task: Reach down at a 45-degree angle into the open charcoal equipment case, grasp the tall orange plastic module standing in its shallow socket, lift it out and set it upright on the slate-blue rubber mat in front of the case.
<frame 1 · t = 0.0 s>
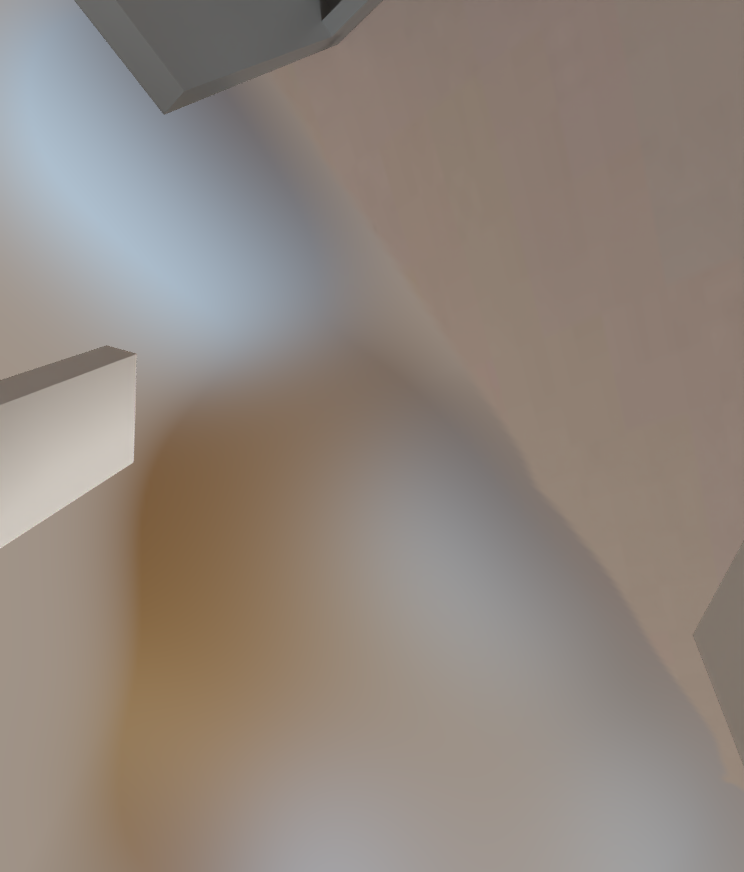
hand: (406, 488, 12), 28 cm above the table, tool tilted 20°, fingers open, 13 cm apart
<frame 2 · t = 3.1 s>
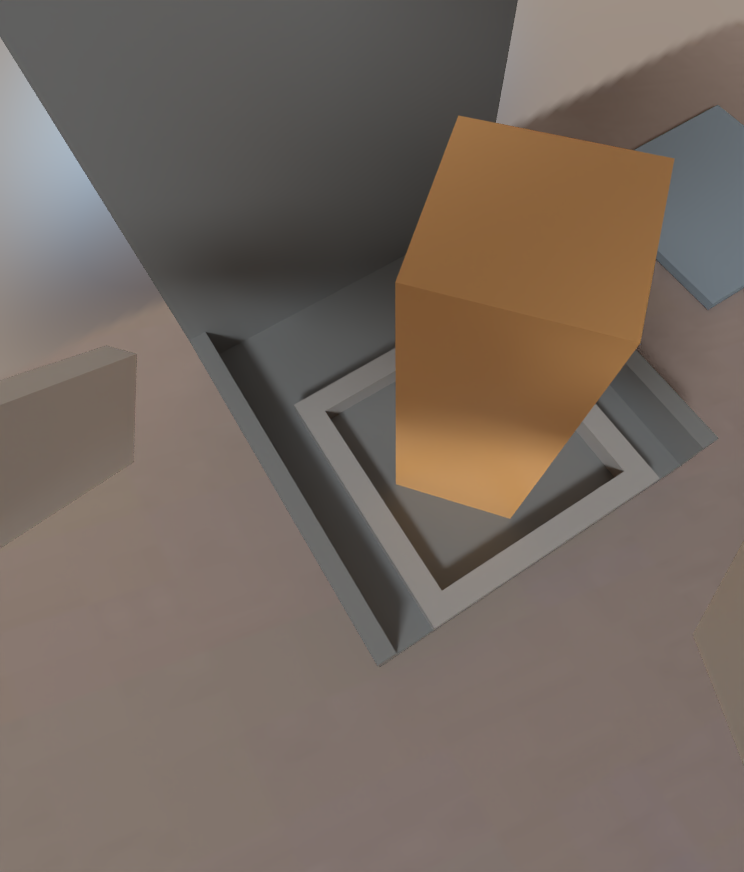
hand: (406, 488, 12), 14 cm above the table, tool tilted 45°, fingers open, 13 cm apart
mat: (710, 203, 32), on the table
module: (467, 448, 26), point 1 cm above the table, touching case
case: (427, 410, 28), on the table
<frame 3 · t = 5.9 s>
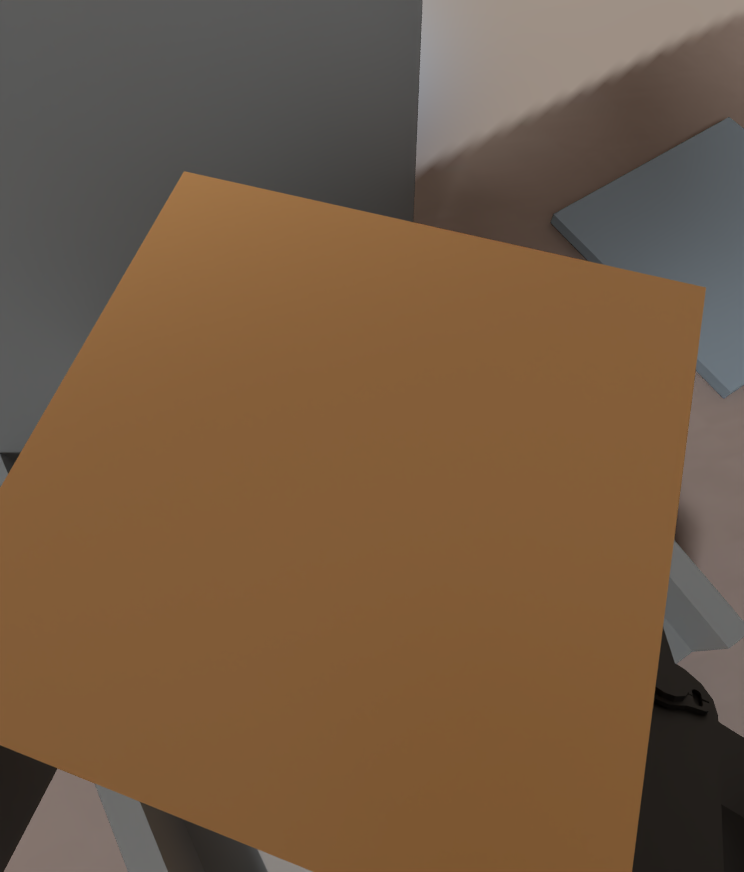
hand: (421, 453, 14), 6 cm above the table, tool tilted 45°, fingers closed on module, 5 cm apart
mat: (723, 248, 24), on the table
module: (380, 623, 17), point 2 cm above the table, touching case, gripper
case: (333, 549, 20), on the table
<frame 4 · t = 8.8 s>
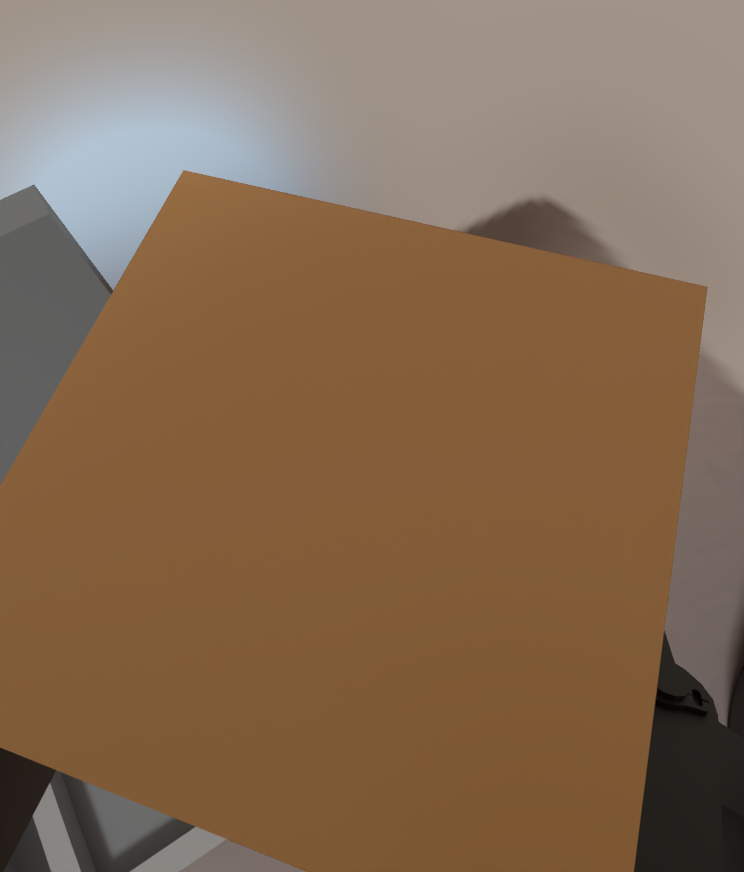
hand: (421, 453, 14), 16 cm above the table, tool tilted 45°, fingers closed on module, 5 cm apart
module: (380, 623, 17), point 11 cm above the table, touching gripper
case: (146, 654, 28), on the table
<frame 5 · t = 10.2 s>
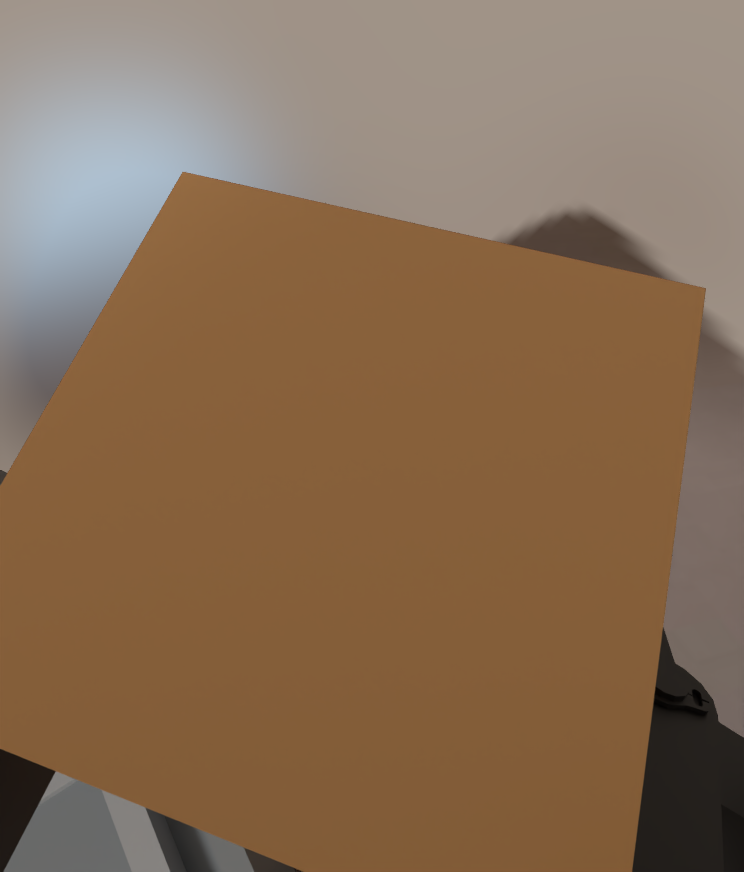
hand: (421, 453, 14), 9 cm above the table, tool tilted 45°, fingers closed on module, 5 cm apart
module: (379, 624, 17), point 5 cm above the table, touching gripper
when the fingers open (7 cm above the table, at t = 11.7 s): module drops 1 cm, resting on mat.
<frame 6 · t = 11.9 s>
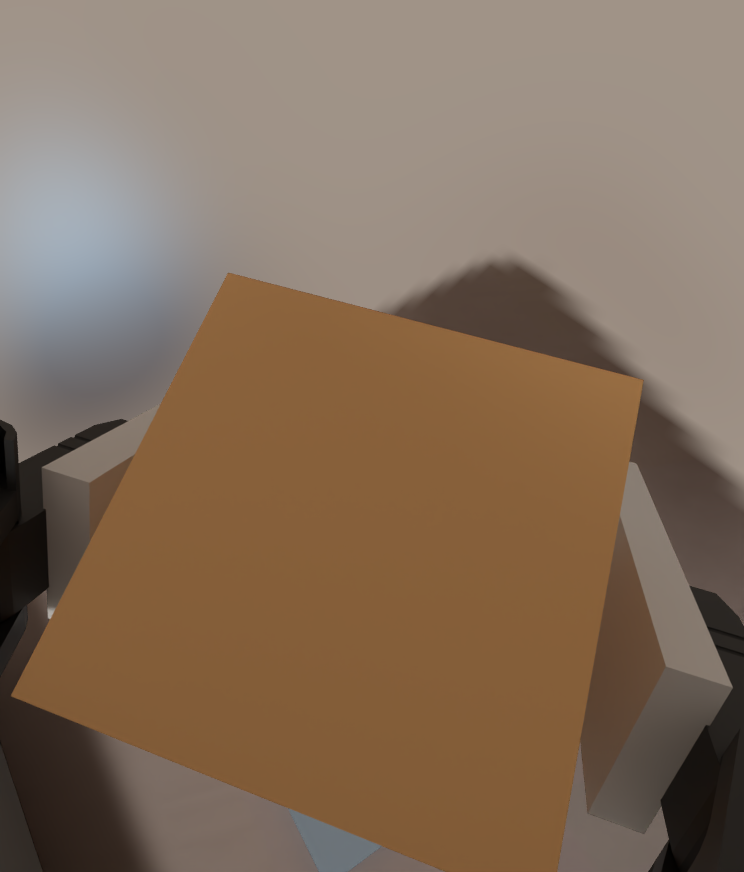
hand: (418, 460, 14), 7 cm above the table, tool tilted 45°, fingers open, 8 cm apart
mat: (381, 628, 19), on the table
module: (381, 629, 19), point 1 cm above the table, touching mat
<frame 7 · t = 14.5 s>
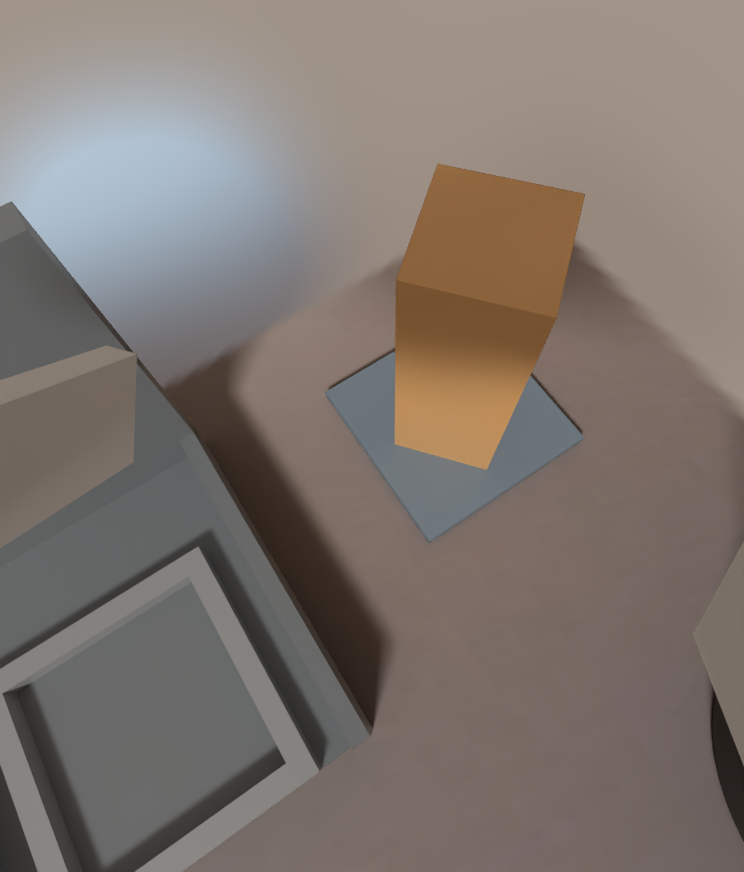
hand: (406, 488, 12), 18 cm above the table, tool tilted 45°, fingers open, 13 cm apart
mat: (450, 417, 32), on the table
module: (452, 415, 32), resting on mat
case: (135, 664, 28), on the table
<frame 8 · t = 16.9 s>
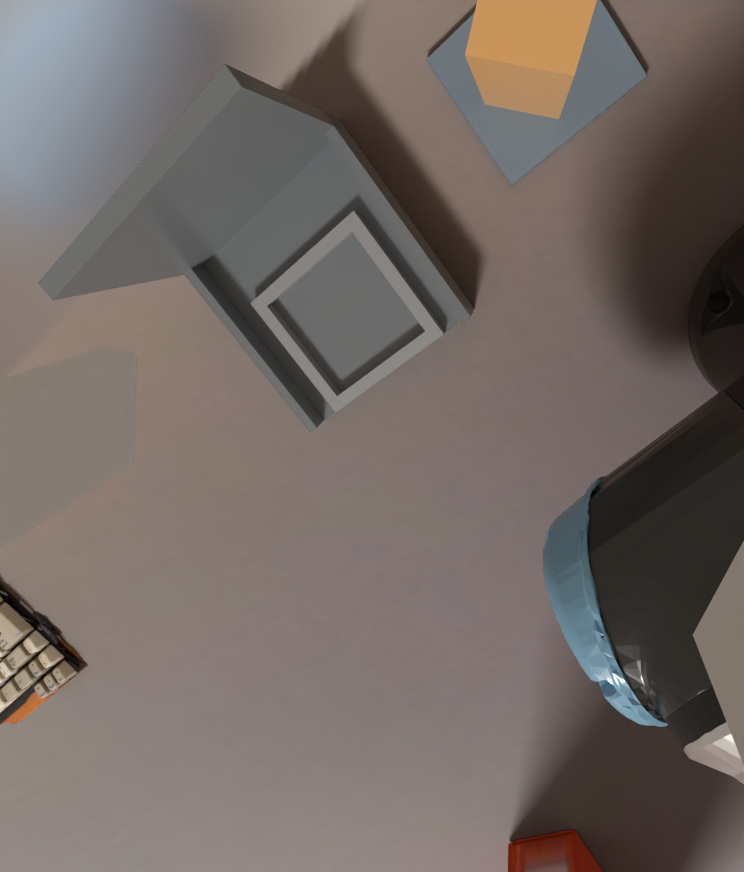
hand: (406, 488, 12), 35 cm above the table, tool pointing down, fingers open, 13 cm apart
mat: (532, 69, 38), on the table
module: (533, 68, 38), resting on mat
case: (329, 282, 47), on the table
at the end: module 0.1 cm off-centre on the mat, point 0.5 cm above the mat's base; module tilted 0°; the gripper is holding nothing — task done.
